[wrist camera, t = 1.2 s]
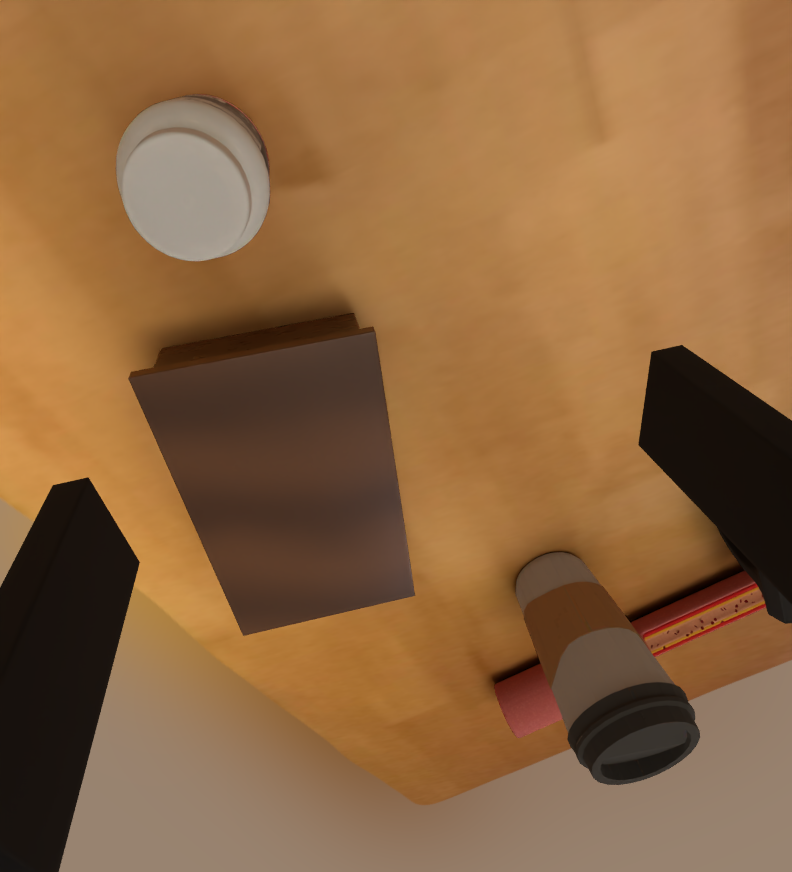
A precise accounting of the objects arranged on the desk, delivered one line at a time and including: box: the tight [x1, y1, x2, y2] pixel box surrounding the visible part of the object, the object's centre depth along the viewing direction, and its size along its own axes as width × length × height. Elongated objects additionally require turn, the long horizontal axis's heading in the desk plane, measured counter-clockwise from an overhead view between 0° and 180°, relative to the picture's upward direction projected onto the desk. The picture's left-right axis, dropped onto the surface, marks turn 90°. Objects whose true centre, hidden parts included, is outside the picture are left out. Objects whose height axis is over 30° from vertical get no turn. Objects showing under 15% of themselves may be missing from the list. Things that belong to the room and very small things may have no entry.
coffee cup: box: [516, 552, 700, 785], centre depth 41 cm, size 8×8×15 cm
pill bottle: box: [116, 94, 270, 261], centre depth 22 cm, size 5×5×10 cm
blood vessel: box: [494, 570, 766, 738], centre depth 51 cm, size 42×5×5 cm, turn 116°
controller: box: [717, 527, 792, 624], centre depth 43 cm, size 4×12×10 cm, turn 29°
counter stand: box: [128, 313, 415, 636], centre depth 34 cm, size 20×12×4 cm, turn 8°
